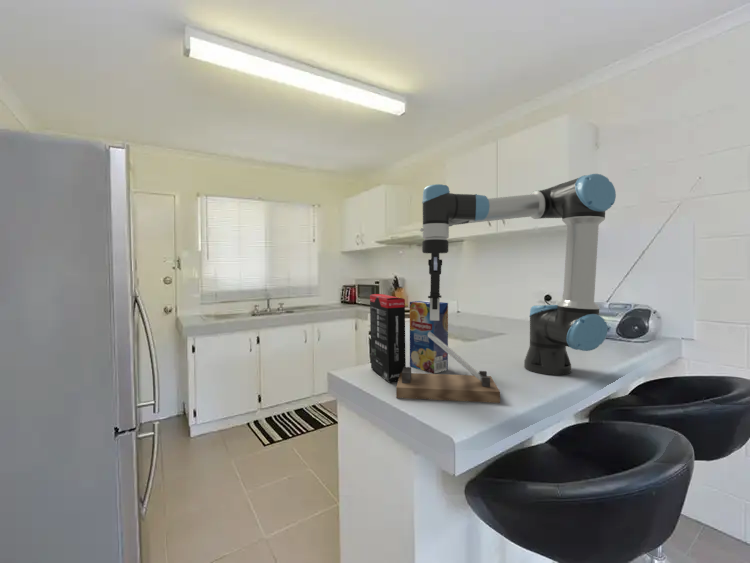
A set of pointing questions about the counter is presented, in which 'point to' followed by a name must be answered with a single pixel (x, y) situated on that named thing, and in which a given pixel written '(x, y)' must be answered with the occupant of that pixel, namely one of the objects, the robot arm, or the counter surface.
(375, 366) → the graphics card box
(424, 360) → the juice carton
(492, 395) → the plate
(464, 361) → the latch bar
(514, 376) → the counter surface
